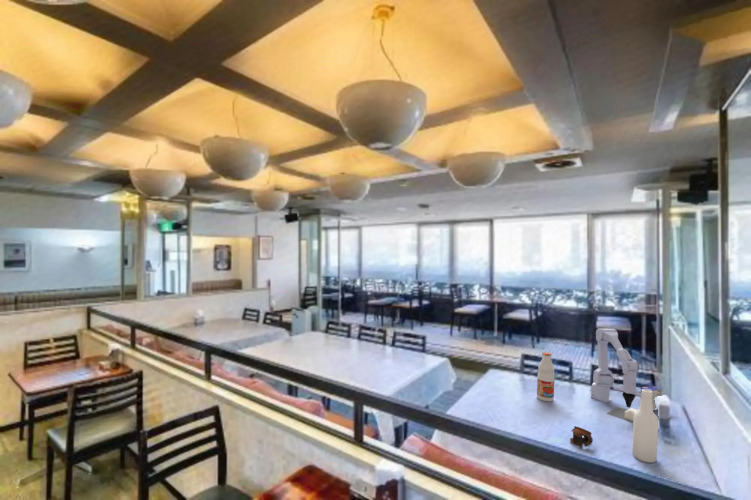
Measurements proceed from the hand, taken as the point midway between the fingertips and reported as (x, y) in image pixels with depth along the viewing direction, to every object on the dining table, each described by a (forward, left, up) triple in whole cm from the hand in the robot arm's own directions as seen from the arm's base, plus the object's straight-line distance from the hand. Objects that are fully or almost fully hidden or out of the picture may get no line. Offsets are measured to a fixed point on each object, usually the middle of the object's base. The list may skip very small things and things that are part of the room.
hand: (628, 406), depth 208 cm
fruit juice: (-39, -16, -6) cm, 43 cm away
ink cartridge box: (+3, +24, -6) cm, 25 cm away
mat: (-1, +1, -6) cm, 6 cm away
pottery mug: (0, -52, -6) cm, 53 cm away
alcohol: (+21, -41, -6) cm, 46 cm away
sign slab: (0, 0, -3) cm, 3 cm away
